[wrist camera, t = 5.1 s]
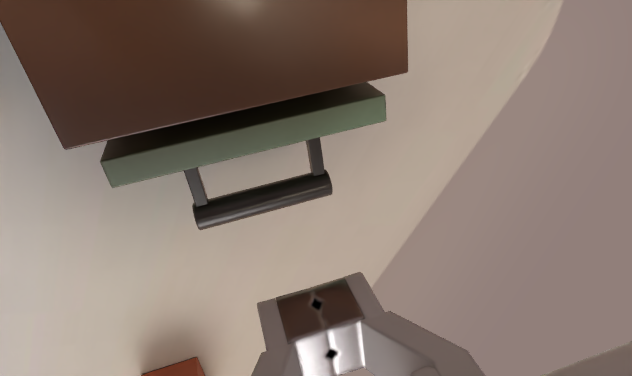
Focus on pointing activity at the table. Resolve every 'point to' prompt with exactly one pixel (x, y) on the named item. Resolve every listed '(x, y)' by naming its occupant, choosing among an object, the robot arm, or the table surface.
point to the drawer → (246, 149)
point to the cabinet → (193, 57)
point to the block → (180, 369)
